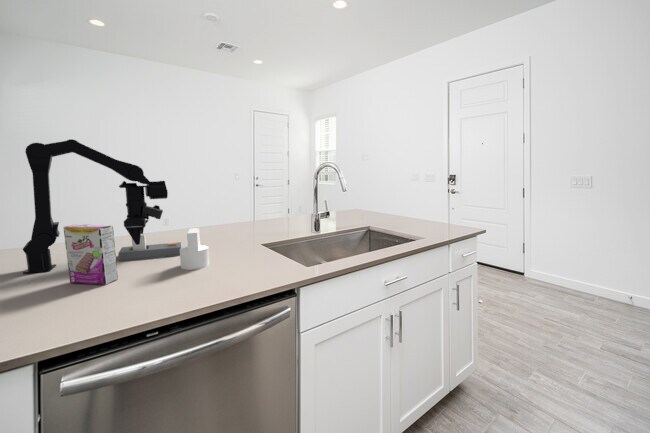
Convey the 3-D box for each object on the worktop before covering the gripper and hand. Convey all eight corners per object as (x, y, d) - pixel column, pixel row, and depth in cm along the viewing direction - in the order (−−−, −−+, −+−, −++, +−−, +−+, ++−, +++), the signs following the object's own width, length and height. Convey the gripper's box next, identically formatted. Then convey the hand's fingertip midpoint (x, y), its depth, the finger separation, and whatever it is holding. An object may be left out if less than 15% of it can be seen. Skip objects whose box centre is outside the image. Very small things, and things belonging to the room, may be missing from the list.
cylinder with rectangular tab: (182, 262, 108) (180, 228, 106) (210, 260, 110) (208, 227, 109) (178, 270, 99) (176, 233, 97) (208, 268, 102) (206, 232, 100)
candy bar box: (68, 284, 87) (61, 226, 85) (84, 278, 92) (78, 223, 89) (105, 285, 86) (99, 227, 83) (119, 279, 91) (113, 224, 88)
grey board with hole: (198, 253, 120) (197, 243, 120) (119, 261, 109) (118, 250, 109) (197, 247, 128) (196, 238, 128) (123, 254, 117) (122, 245, 117)
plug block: (145, 256, 115) (144, 234, 114) (133, 258, 113) (131, 235, 112) (146, 254, 119) (145, 232, 117) (134, 255, 117) (132, 233, 116)
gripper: (159, 201, 108) (162, 245, 110) (161, 197, 125) (164, 235, 127) (121, 202, 103) (125, 248, 105) (129, 198, 120) (132, 237, 122)
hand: (139, 241), depth 115 cm, fingers open, 9 cm apart
